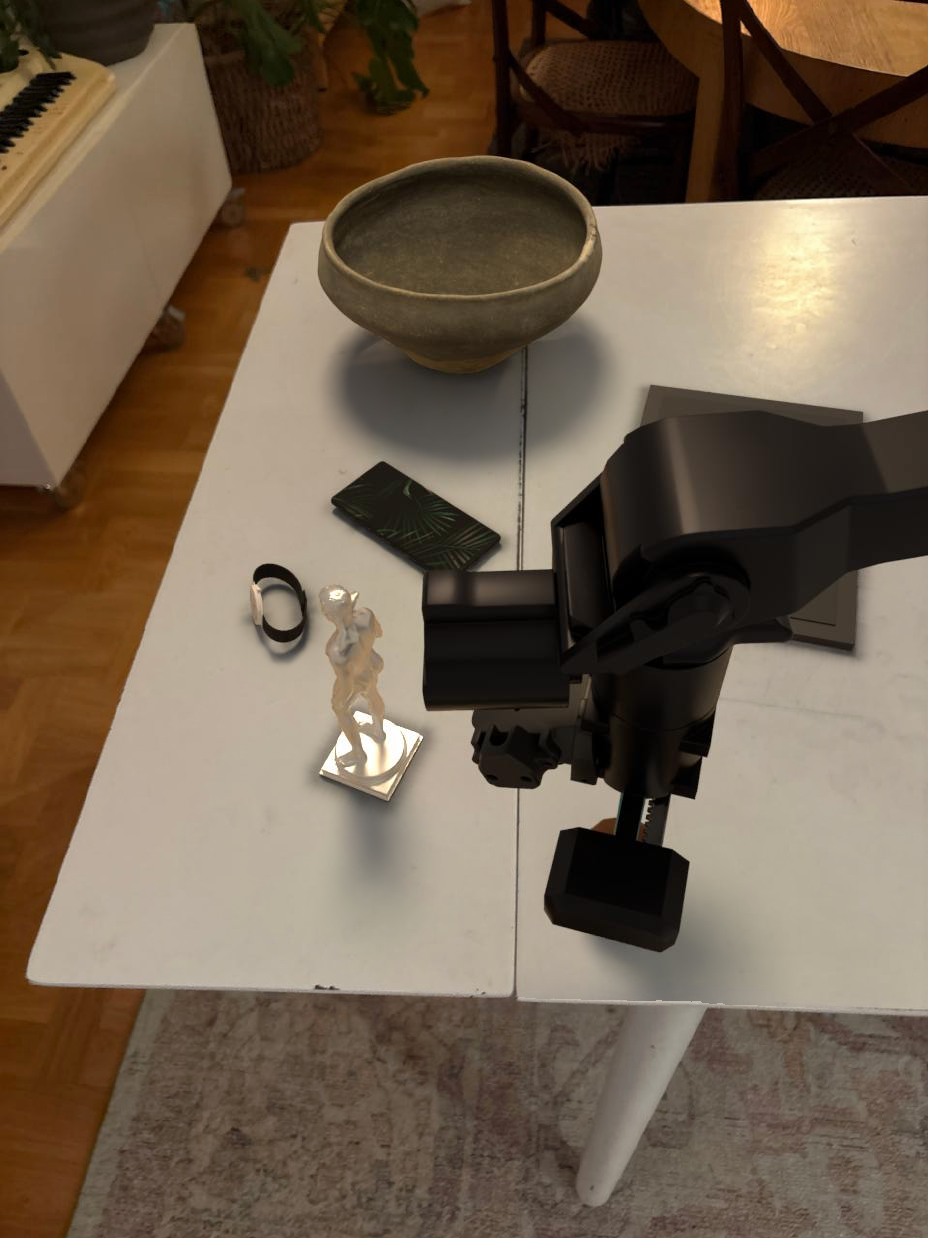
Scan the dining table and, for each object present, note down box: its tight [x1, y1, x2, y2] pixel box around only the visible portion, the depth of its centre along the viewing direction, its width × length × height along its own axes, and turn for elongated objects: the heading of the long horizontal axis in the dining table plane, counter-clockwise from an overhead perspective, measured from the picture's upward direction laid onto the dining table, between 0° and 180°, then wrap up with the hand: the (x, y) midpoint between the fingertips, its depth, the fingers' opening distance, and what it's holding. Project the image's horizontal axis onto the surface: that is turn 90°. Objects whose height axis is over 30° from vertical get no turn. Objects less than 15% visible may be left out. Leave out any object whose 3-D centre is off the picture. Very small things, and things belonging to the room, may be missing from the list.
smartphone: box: [330, 460, 502, 571], centre depth 81 cm, size 7×1×15 cm
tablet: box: [639, 384, 864, 652], centre depth 80 cm, size 28×20×1 cm
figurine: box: [317, 584, 424, 802], centre depth 60 cm, size 8×7×18 cm
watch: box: [249, 562, 308, 644], centre depth 74 cm, size 8×5×4 cm, turn 20°
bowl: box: [317, 155, 603, 374], centre depth 92 cm, size 28×28×14 cm
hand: (629, 826), depth 53 cm, fingers open, 9 cm apart
